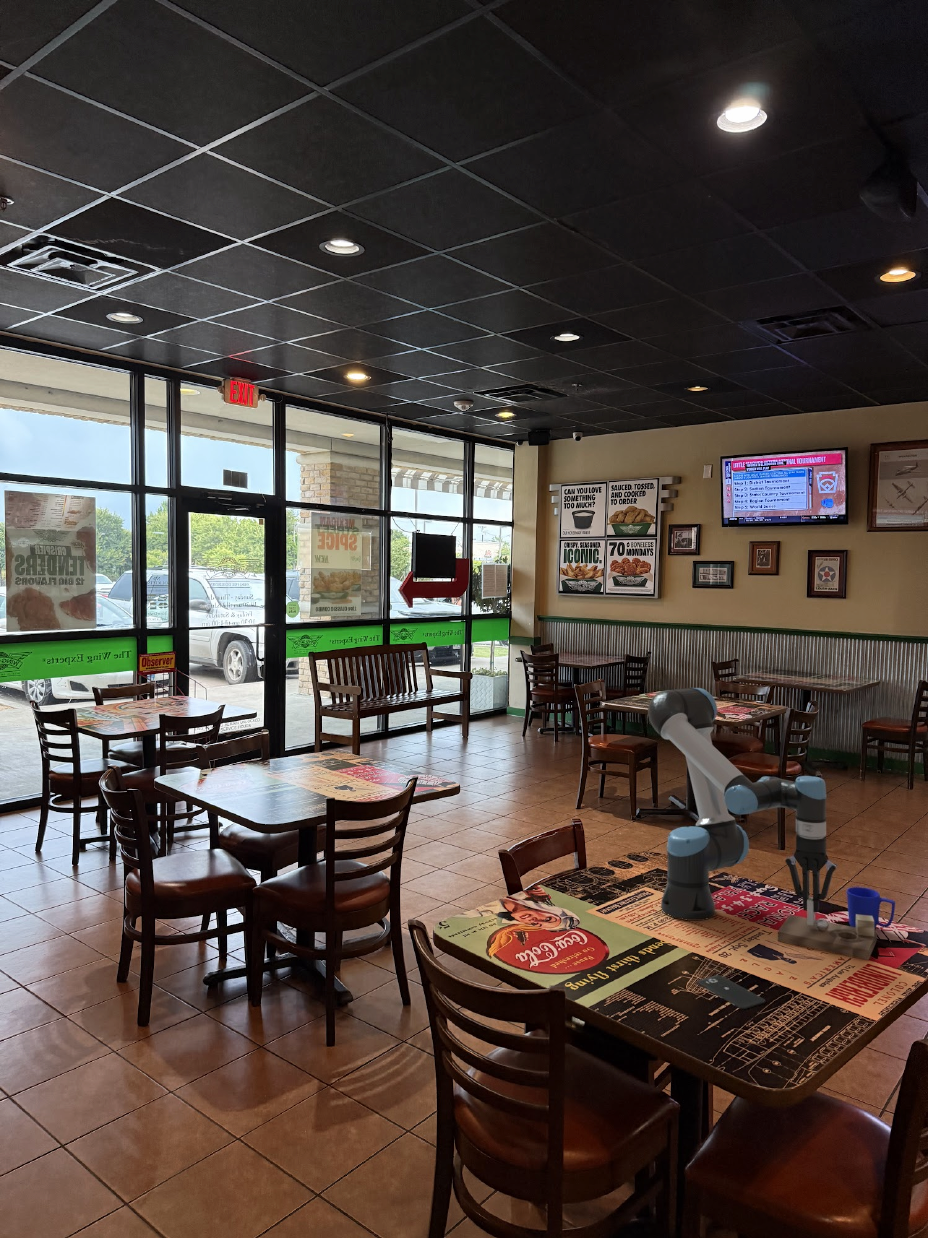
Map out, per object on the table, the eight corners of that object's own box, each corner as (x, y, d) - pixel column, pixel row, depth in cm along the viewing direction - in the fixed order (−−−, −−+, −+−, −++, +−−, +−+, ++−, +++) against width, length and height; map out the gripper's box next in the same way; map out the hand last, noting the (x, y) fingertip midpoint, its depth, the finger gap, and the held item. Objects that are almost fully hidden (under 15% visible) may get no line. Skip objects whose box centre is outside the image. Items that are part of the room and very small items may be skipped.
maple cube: (857, 935, 224) (857, 920, 223) (855, 929, 227) (855, 914, 227) (874, 936, 222) (874, 921, 222) (872, 931, 226) (872, 916, 226)
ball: (826, 921, 224) (828, 933, 224) (828, 917, 227) (830, 929, 227) (813, 920, 226) (815, 932, 226) (816, 916, 229) (818, 928, 228)
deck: (777, 941, 226) (777, 931, 226) (789, 923, 238) (789, 914, 238) (868, 960, 214) (868, 950, 214) (876, 941, 226) (876, 931, 226)
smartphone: (719, 977, 206) (719, 974, 206) (767, 1004, 193) (767, 1000, 193) (695, 984, 203) (695, 981, 203) (742, 1011, 189) (742, 1008, 189)
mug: (891, 940, 226) (891, 903, 226) (843, 929, 234) (843, 893, 233) (897, 930, 233) (898, 894, 232) (850, 920, 240) (850, 885, 240)
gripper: (782, 835, 228) (782, 923, 228) (834, 842, 220) (834, 933, 221) (788, 829, 234) (789, 914, 234) (839, 835, 227) (840, 923, 227)
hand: (811, 923), depth 228 cm, fingers closed
